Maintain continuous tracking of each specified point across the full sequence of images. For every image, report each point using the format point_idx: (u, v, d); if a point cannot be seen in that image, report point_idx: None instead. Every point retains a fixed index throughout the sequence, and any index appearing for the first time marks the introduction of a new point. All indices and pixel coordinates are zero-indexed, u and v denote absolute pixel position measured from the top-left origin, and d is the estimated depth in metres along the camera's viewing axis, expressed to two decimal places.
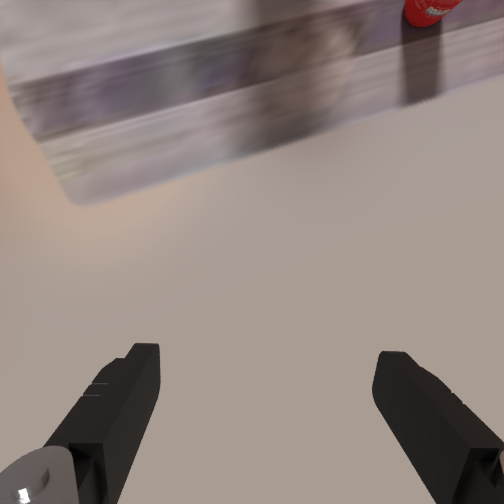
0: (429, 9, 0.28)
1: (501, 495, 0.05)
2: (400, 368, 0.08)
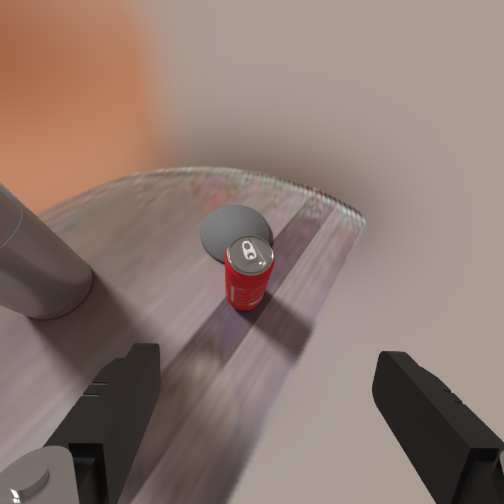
0: (250, 304, 0.32)
1: (501, 495, 0.05)
2: (400, 368, 0.08)
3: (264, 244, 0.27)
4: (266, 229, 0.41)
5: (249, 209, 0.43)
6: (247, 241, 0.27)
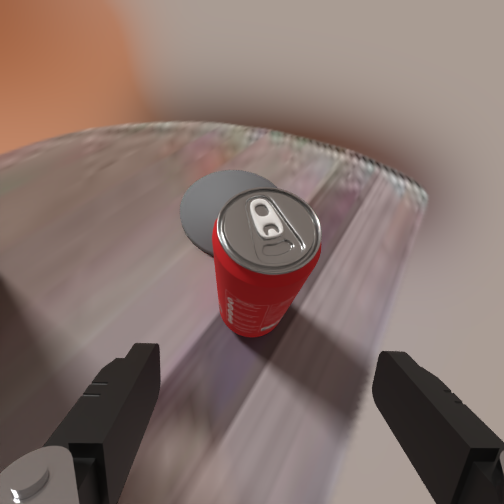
0: (263, 328, 0.17)
1: (501, 495, 0.05)
2: (400, 368, 0.08)
3: (300, 205, 0.12)
4: None
5: (255, 176, 0.28)
6: (261, 199, 0.12)
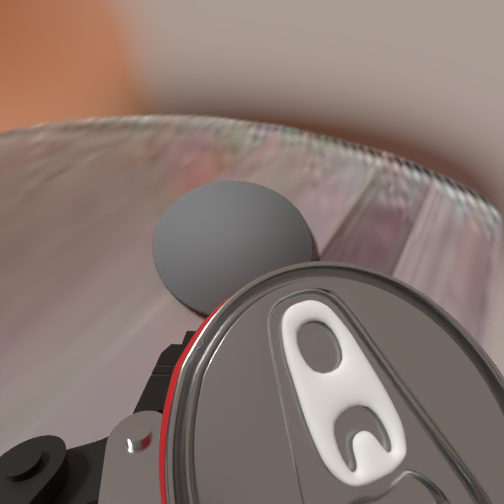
0: None
1: None
2: None
3: (437, 326, 0.04)
4: (303, 233, 0.18)
5: (263, 190, 0.20)
6: (315, 304, 0.04)
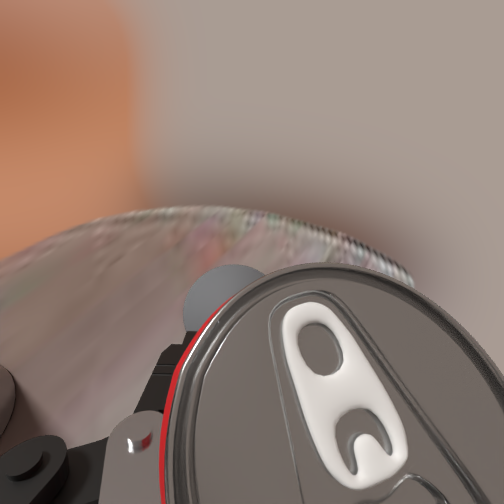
0: None
1: None
2: None
3: (438, 328, 0.04)
4: None
5: (253, 271, 0.31)
6: (315, 306, 0.04)
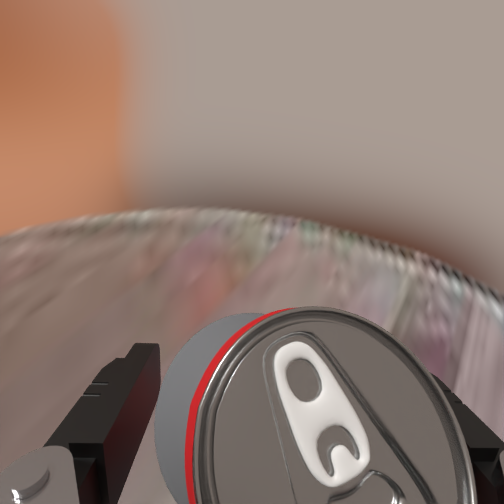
0: None
1: (501, 495, 0.05)
2: None
3: (393, 355, 0.05)
4: None
5: None
6: (299, 345, 0.05)
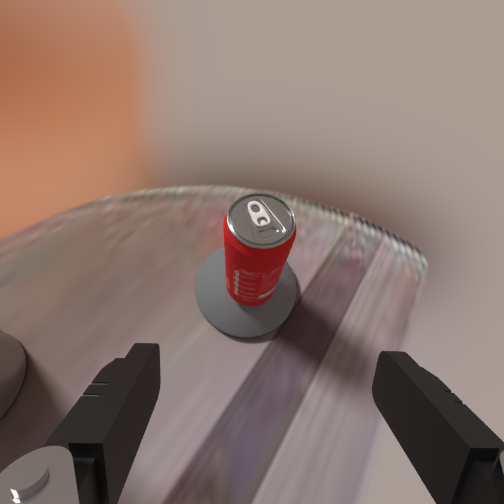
0: (261, 296, 0.23)
1: (501, 496, 0.05)
2: (400, 368, 0.08)
3: (281, 204, 0.18)
4: (291, 280, 0.28)
5: None
6: (255, 201, 0.18)
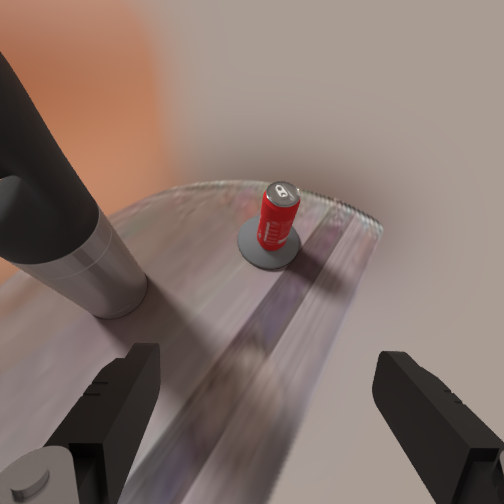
0: (279, 241, 0.41)
1: (502, 496, 0.05)
2: (400, 368, 0.08)
3: (292, 186, 0.36)
4: (295, 237, 0.46)
5: None
6: (279, 185, 0.36)
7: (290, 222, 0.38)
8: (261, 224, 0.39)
